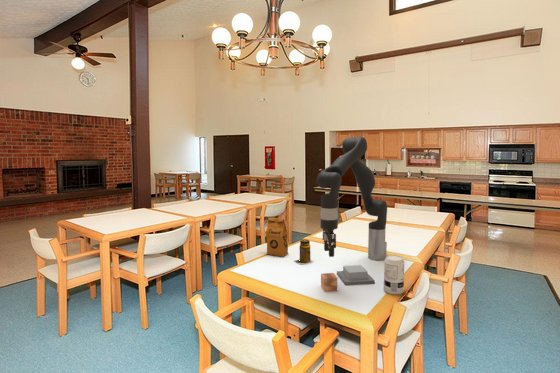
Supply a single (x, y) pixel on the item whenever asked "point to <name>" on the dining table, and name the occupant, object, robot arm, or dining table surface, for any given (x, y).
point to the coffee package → (277, 237)
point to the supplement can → (394, 274)
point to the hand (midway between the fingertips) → (329, 253)
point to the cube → (329, 282)
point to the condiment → (304, 252)
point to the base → (355, 282)
